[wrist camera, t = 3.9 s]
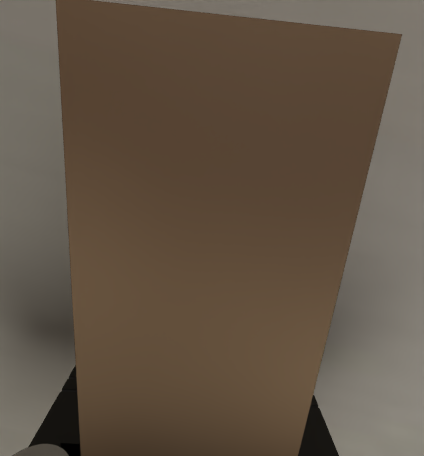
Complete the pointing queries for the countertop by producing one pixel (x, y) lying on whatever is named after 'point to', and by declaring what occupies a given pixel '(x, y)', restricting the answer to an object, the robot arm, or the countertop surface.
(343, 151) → the brown wooden bar
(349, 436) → the countertop surface
